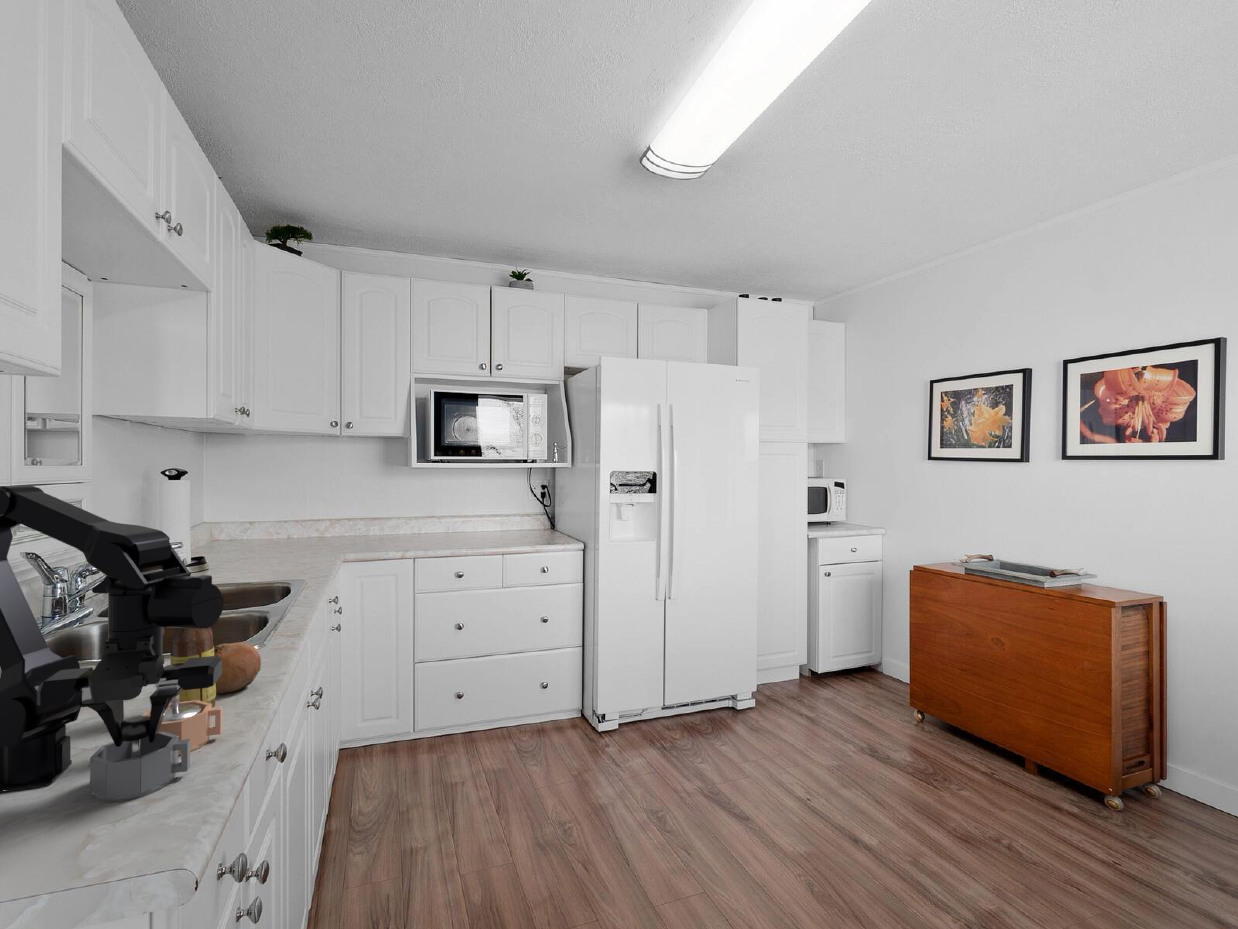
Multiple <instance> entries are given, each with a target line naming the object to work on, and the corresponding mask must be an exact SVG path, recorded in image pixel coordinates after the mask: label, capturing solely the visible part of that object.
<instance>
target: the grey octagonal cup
mask: <svg viewBox="0 0 1238 929" xmlns="http://www.w3.org/2000/svg"><path fill="white" fill-rule="evenodd" d="M178 750H181V755H180V758H181V759H180V760H181V762H179V756H178ZM189 769H191V752H190V739H186V740H180V741H178V736H177V735H173V734H170V733H167V732H163V731H161V732H158V733H157V735H156V738H155V740H154V741H153V742H149V736H147V737H145V738H142V739H140V757H137V758H132V741H123V744H122V745H121V746H120V747H116V745H115V743H114V741H112V742H111V741H110V742H108V743H106V744H102V745H101V746H100V747H99V748H98V749H97V750H96V751H95V752H94V753H93V754H92V755H91V757H90V758H89V792H90V793H91V794H93V799H95V800H97V801H99V802H104V803H105V802H106V803H114V802H116V803H117V802H123V801H130V800H134V799H138V798H142V797H145V796H147V795H150V794H152V793H154V792H157V791H159V790H161V789H163V788H165V787H166V786H168V785H170V784H171V783H172V782H173V781H174V779H175V778H176V775H177V774H176V773H184V772H188V771H189Z"/></svg>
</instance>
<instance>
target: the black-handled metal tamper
mask: <svg viewBox="0 0 1238 929" xmlns="http://www.w3.org/2000/svg"><path fill="white" fill-rule="evenodd" d="M183 664H184V663H176V664H171V663H170V664H167V665H165V666H163V668H172V667H181V666H182V665H183ZM171 703H172V707H168V708H167V711H166V713H165V715H164V718H163V720H162V722H170V721H178V720H182V719H185V718H188V717H191V716H193V715H196V714H199V713H201V707H200V706H199V705H194V704H186V705H179V694H178V695H177V696H175V697H173V698H172V700H171Z"/></svg>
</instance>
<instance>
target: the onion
mask: <svg viewBox="0 0 1238 929" xmlns="http://www.w3.org/2000/svg"><path fill="white" fill-rule="evenodd" d="M214 656H218V657H219V658H220V659H221V660H222V675H221V676H220V677H219V679H218V680H217V682H216V693H218V694H227V693H228V694H229V693H233V692H235V691H239V690H241V691H242V690H244V689H246V688H247V687H248V686H249V685H251V684H252V683H253V682H254V681H255V679H256V678H257V675H258V674H259V673H260V671H261V666H262V665H261V664H262V659H261V654H260V653H259V650H258V649H257V648H256V647H255V646H254V645H252V644H250V643H248V642H244V641H238V642H231V643H220V644H218V645H215V646H214Z"/></svg>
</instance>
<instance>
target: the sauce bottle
mask: <svg viewBox="0 0 1238 929" xmlns="http://www.w3.org/2000/svg"><path fill="white" fill-rule="evenodd" d="M213 637H214V635H213V630H212V628H211V627H209V628H205V629H199V628H174V630H173V633H172V634H171V637H170V649H169V650H170V651H169V656H170V659H169V660H170V665H171V664H176V663H185V662H186V661H187V660H188V659H189V658H197V657H208V656H214V647H215V646H214V641H213V640H214V638H213ZM216 698H217V692H216V683H215V684H214V686H211V687H208V688H201V689H192V690H184V689H183V690H182V691H181V692H180V693H179V702H185V701H194V700H199V701H203V702H207V703H211V704H212V708H214V707H215V706H216Z"/></svg>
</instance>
